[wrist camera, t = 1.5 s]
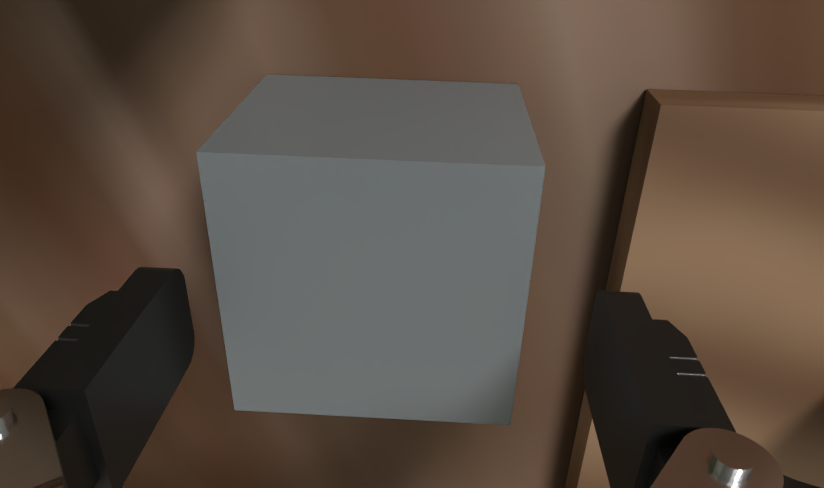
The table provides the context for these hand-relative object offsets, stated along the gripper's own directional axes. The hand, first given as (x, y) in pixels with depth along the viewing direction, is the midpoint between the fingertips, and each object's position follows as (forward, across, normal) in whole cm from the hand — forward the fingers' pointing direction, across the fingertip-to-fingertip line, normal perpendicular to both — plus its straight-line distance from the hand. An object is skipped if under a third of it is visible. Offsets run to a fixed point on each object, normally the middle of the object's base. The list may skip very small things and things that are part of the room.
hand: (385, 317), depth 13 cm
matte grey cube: (+5, 0, 0) cm, 5 cm away
